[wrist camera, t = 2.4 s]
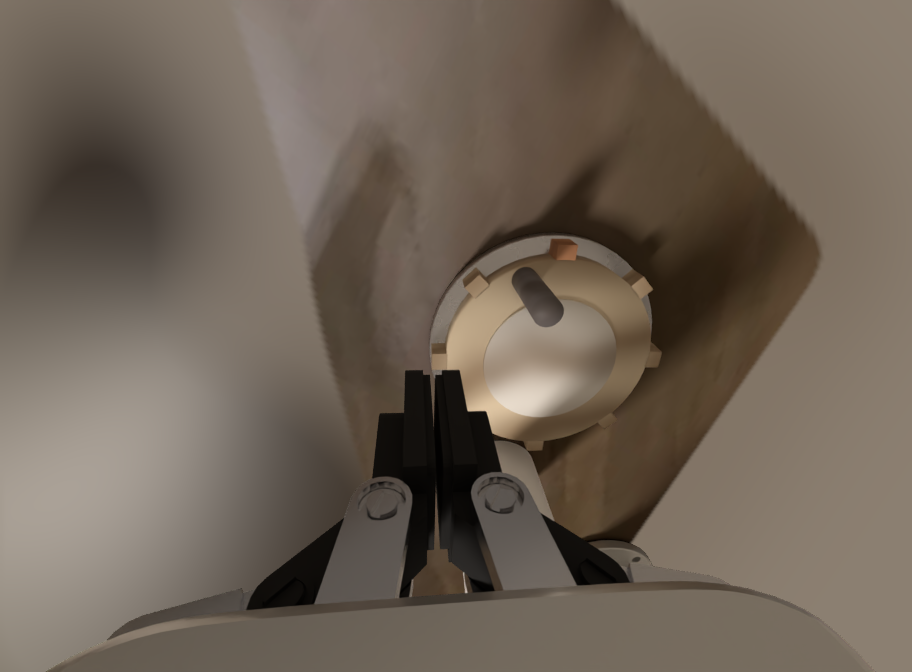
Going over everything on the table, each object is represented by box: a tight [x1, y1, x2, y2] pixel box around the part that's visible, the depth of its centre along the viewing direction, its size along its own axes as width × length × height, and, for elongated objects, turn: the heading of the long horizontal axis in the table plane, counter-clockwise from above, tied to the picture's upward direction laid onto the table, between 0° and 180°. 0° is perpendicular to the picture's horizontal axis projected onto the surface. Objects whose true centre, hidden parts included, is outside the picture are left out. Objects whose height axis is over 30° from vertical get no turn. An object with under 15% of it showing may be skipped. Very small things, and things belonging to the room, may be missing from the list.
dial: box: [431, 239, 662, 451], centre depth 26 cm, size 15×15×6 cm
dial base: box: [429, 232, 652, 378], centre depth 30 cm, size 16×16×1 cm
